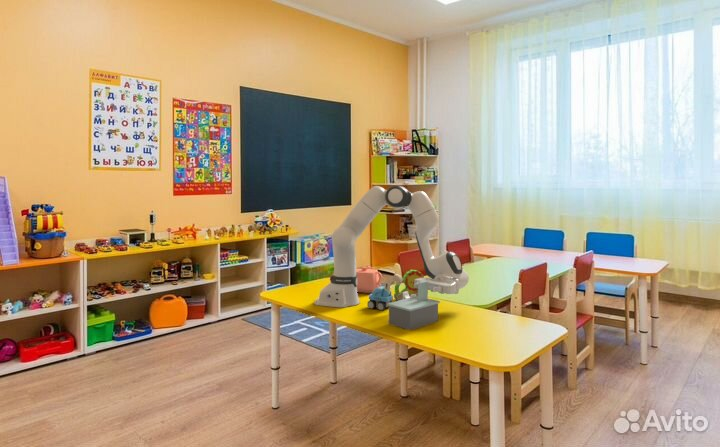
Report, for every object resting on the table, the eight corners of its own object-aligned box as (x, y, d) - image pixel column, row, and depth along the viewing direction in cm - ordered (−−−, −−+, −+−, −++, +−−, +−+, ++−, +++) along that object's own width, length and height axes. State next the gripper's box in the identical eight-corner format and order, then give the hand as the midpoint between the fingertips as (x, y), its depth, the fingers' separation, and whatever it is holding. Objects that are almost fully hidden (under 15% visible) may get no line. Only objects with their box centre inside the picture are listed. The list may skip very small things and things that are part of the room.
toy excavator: (396, 313, 209) (396, 276, 207) (365, 308, 218) (365, 273, 216) (404, 309, 216) (404, 273, 215) (374, 304, 225) (374, 270, 223)
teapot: (386, 287, 263) (386, 263, 262) (379, 295, 244) (379, 269, 243) (353, 285, 268) (353, 262, 267) (343, 293, 249) (343, 268, 248)
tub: (388, 323, 193) (388, 305, 192) (416, 315, 205) (416, 298, 204) (410, 330, 184) (410, 310, 183) (437, 321, 196) (438, 303, 195)
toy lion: (397, 301, 229) (397, 272, 228) (393, 299, 235) (393, 270, 233) (425, 299, 234) (425, 270, 233) (421, 296, 240) (421, 268, 238)
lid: (387, 306, 192) (387, 284, 191) (416, 299, 205) (416, 278, 204) (410, 312, 183) (410, 289, 182) (439, 304, 195) (439, 282, 195)
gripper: (425, 273, 214) (405, 277, 205) (461, 280, 199) (442, 284, 190) (425, 286, 215) (405, 291, 206) (461, 294, 200) (442, 299, 191)
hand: (423, 288), depth 198 cm, fingers open, 8 cm apart
